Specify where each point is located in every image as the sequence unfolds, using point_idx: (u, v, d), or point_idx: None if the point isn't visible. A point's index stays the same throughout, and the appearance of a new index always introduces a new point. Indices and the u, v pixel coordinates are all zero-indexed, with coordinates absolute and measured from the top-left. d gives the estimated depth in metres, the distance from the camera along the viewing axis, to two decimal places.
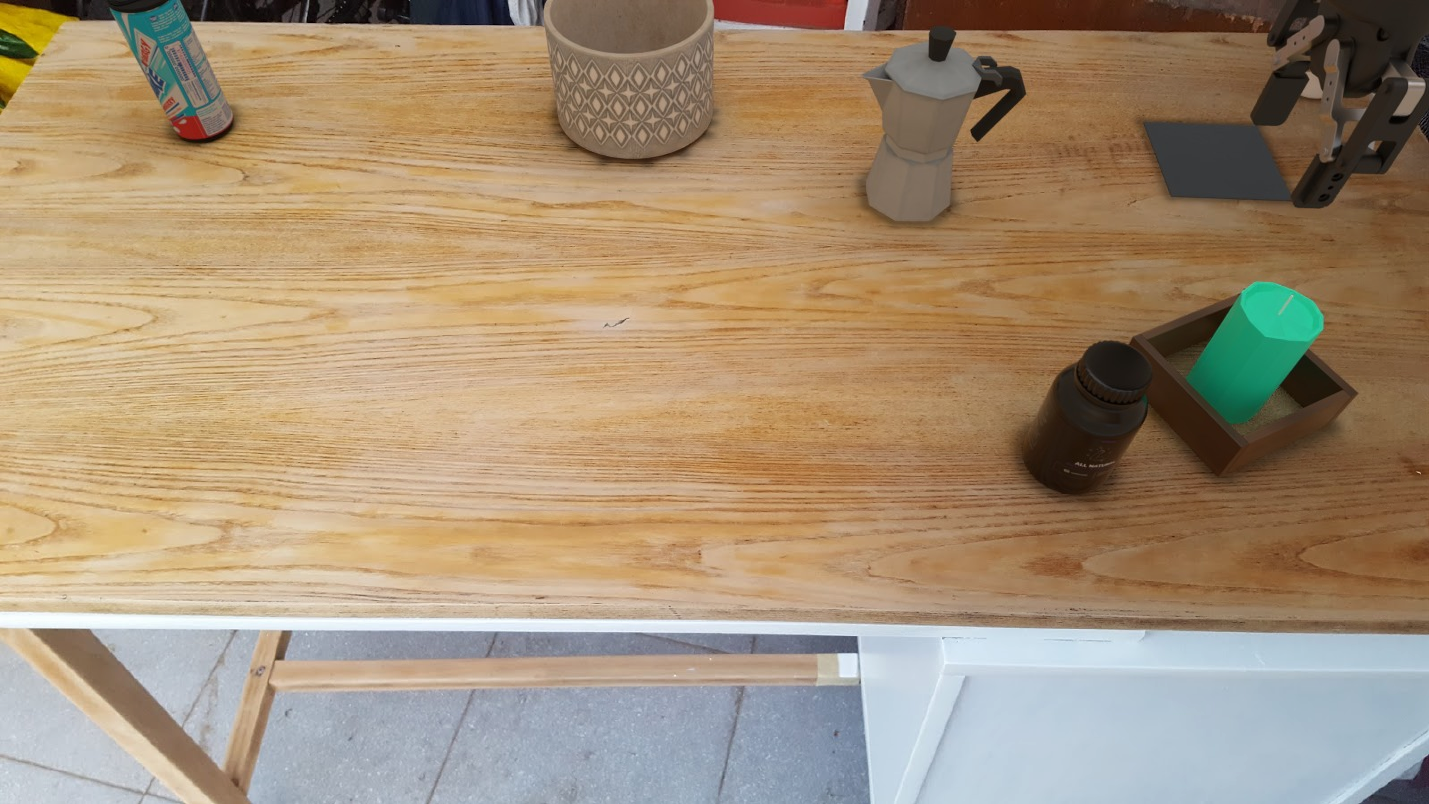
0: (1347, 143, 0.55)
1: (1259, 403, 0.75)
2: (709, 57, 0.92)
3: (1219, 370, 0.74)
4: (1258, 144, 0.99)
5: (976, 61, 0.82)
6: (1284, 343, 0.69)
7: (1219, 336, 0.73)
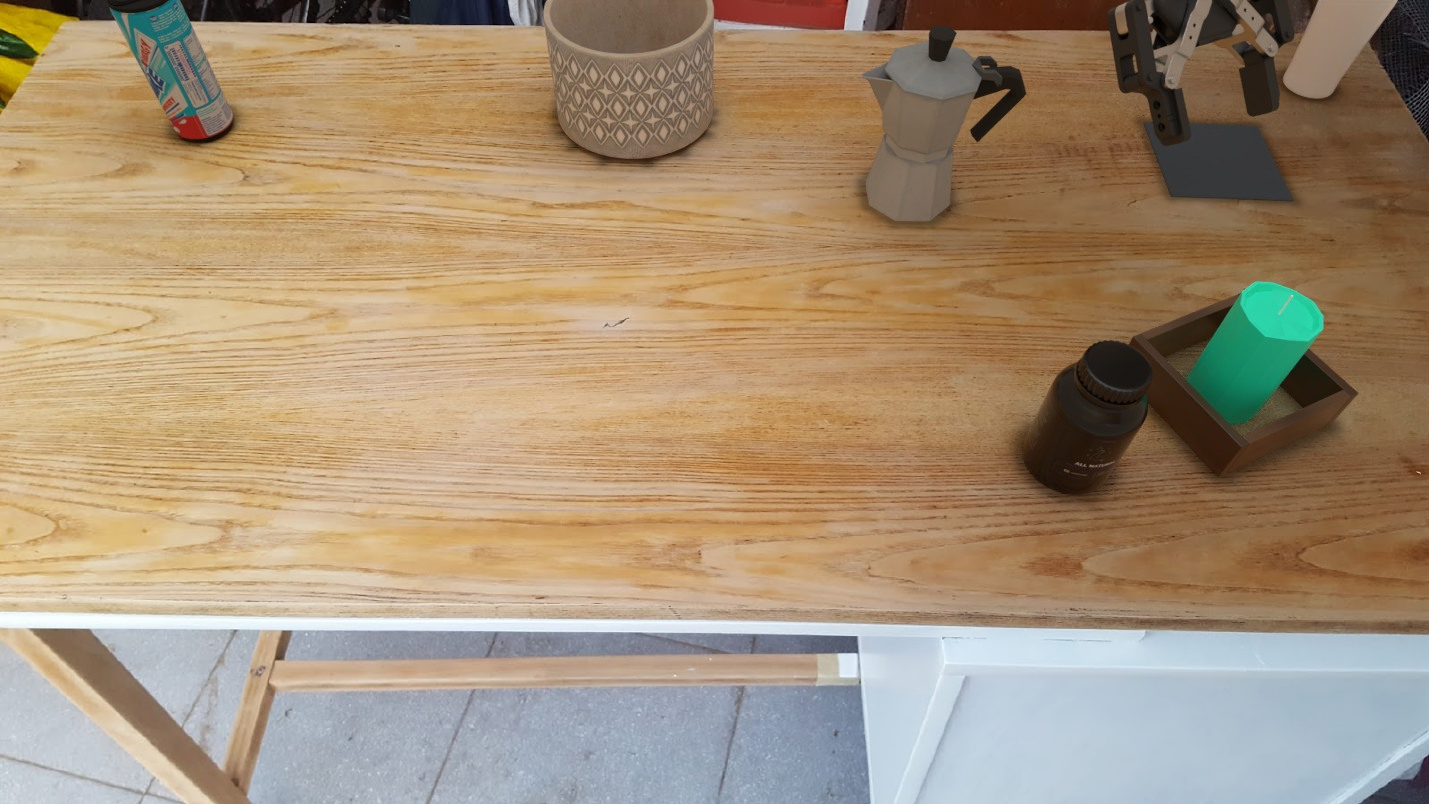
0: None
1: (1259, 403, 0.75)
2: (709, 57, 0.92)
3: (1219, 370, 0.74)
4: (1258, 144, 0.99)
5: (976, 61, 0.82)
6: (1284, 343, 0.69)
7: (1219, 336, 0.73)
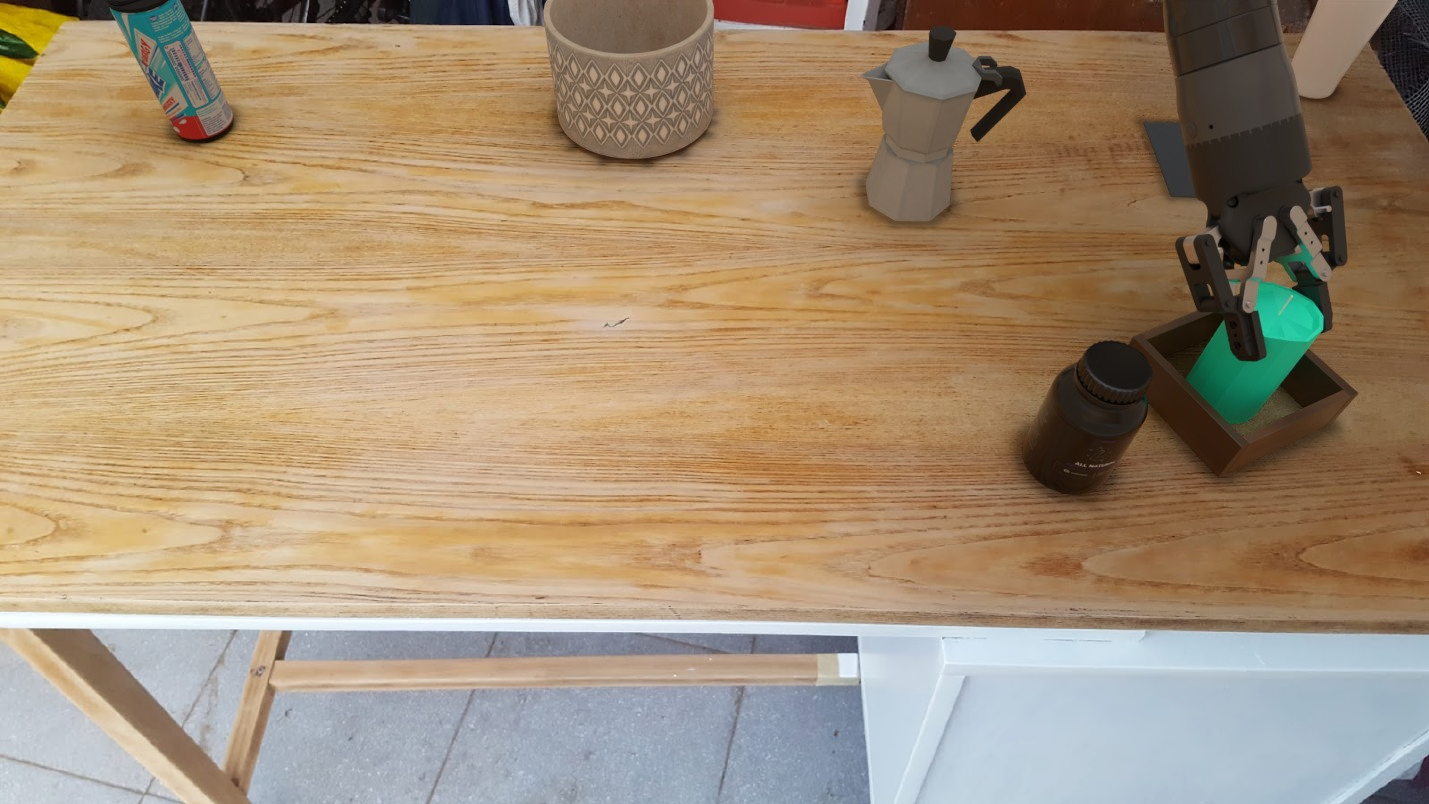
0: None
1: (1259, 403, 0.75)
2: (709, 57, 0.92)
3: (1219, 370, 0.74)
4: None
5: (976, 61, 0.82)
6: (1284, 343, 0.69)
7: (1219, 336, 0.73)
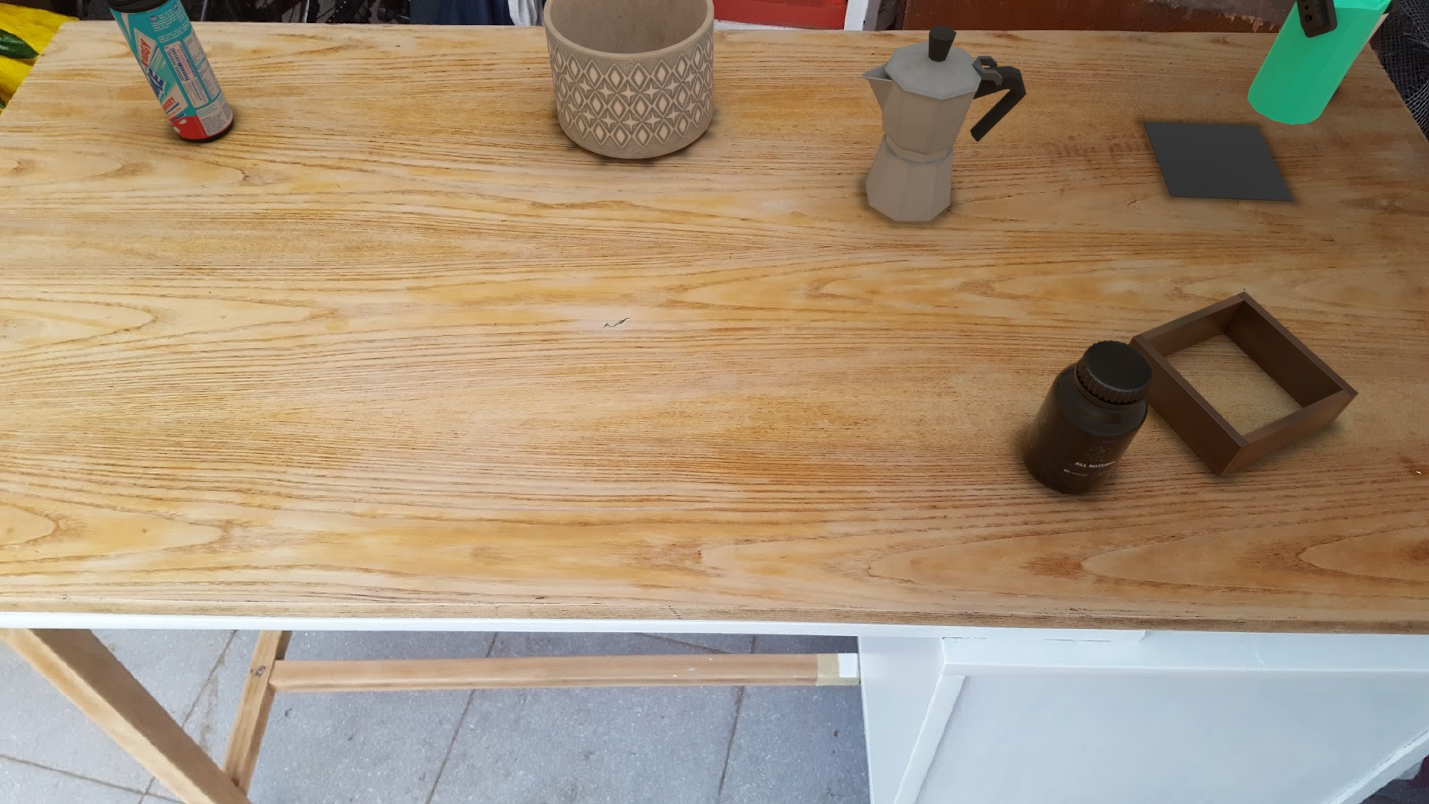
0: None
1: (1324, 95, 0.77)
2: (709, 57, 0.92)
3: (1286, 60, 0.76)
4: (1258, 144, 0.99)
5: (976, 61, 0.82)
6: (1354, 12, 0.71)
7: (1287, 25, 0.76)
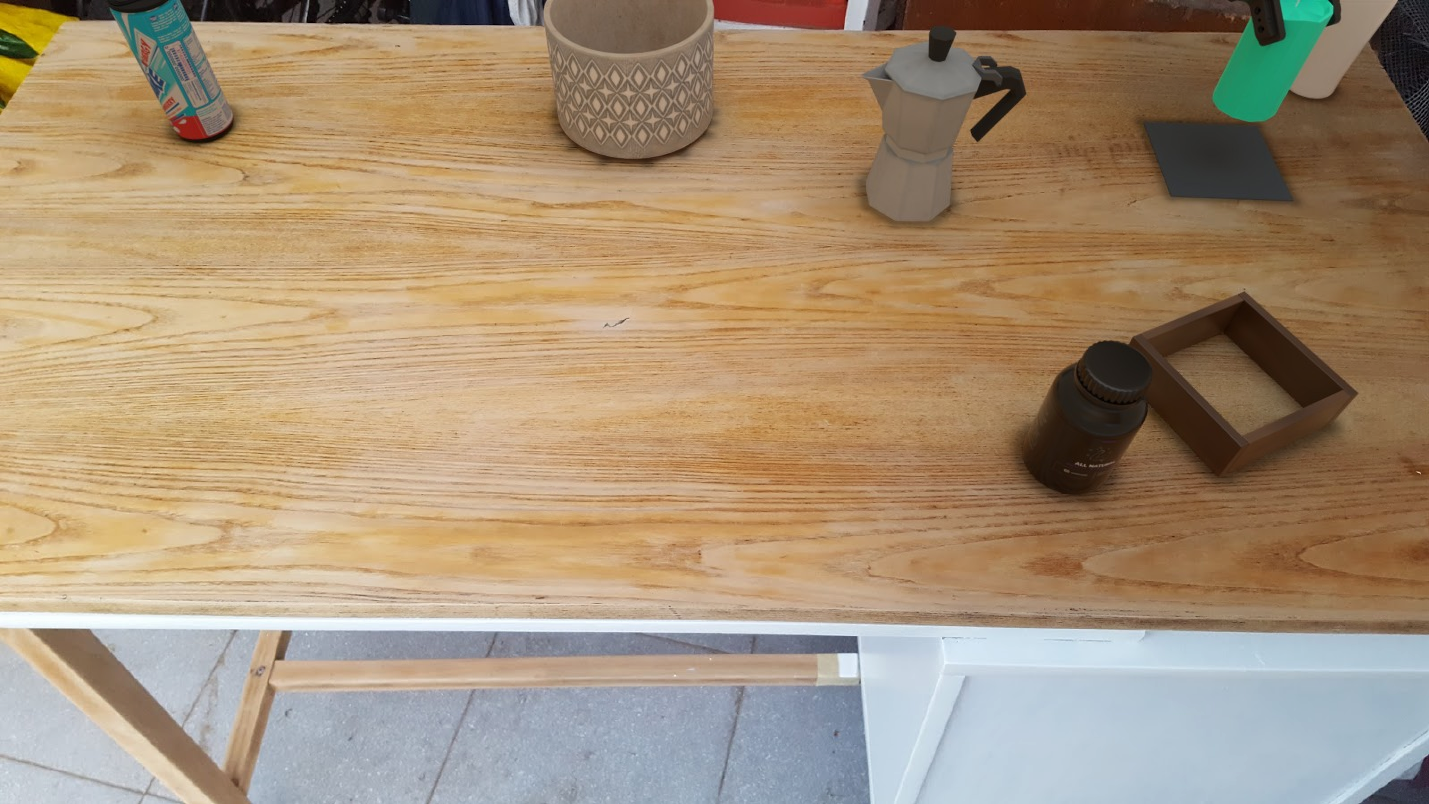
0: None
1: (1277, 96, 0.88)
2: (709, 57, 0.92)
3: (1244, 65, 0.87)
4: (1258, 144, 0.99)
5: (976, 61, 0.82)
6: (1300, 24, 0.82)
7: (1244, 34, 0.87)
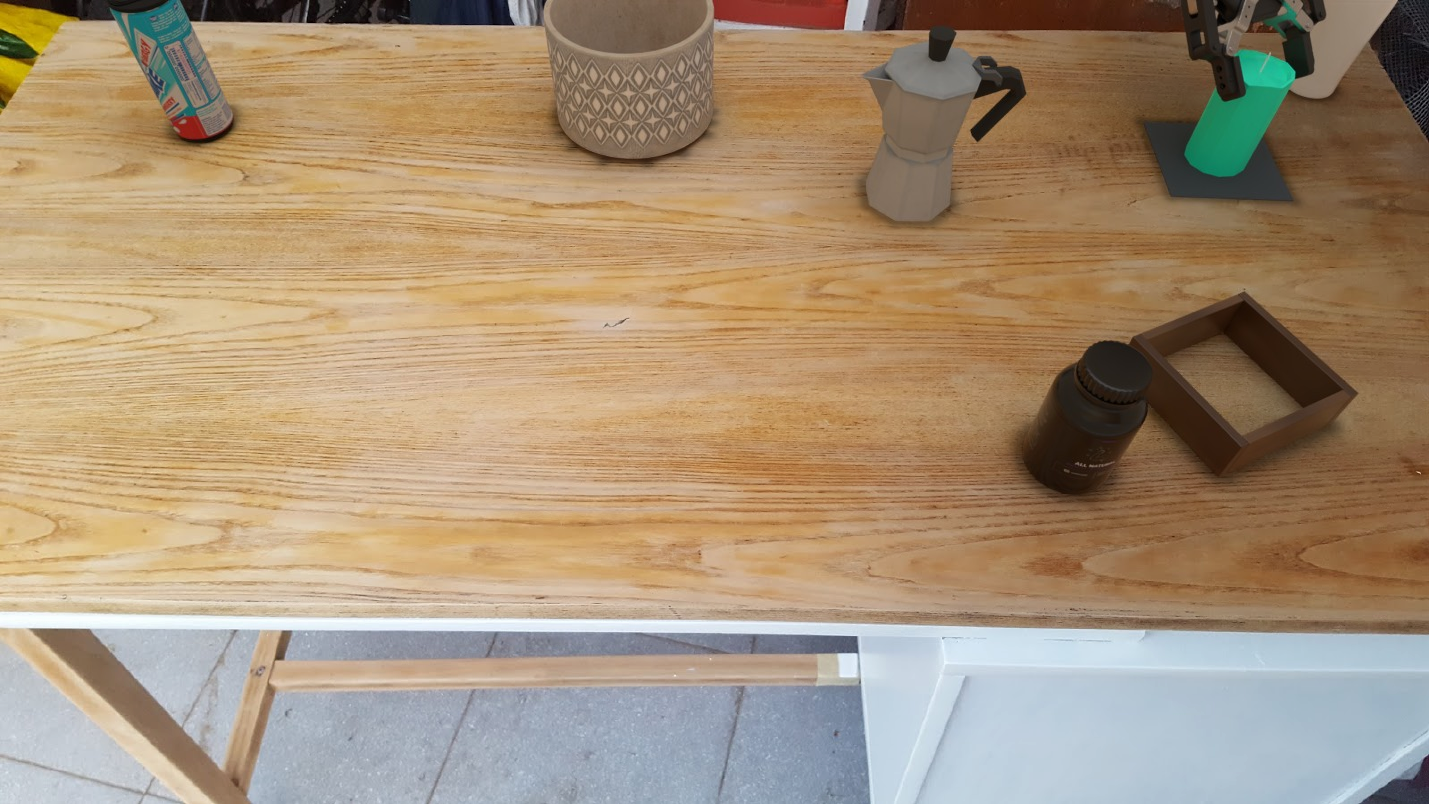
0: None
1: (1245, 154, 0.93)
2: (709, 57, 0.92)
3: (1213, 125, 0.92)
4: (1258, 144, 0.99)
5: (976, 61, 0.82)
6: (1264, 89, 0.87)
7: (1213, 96, 0.92)
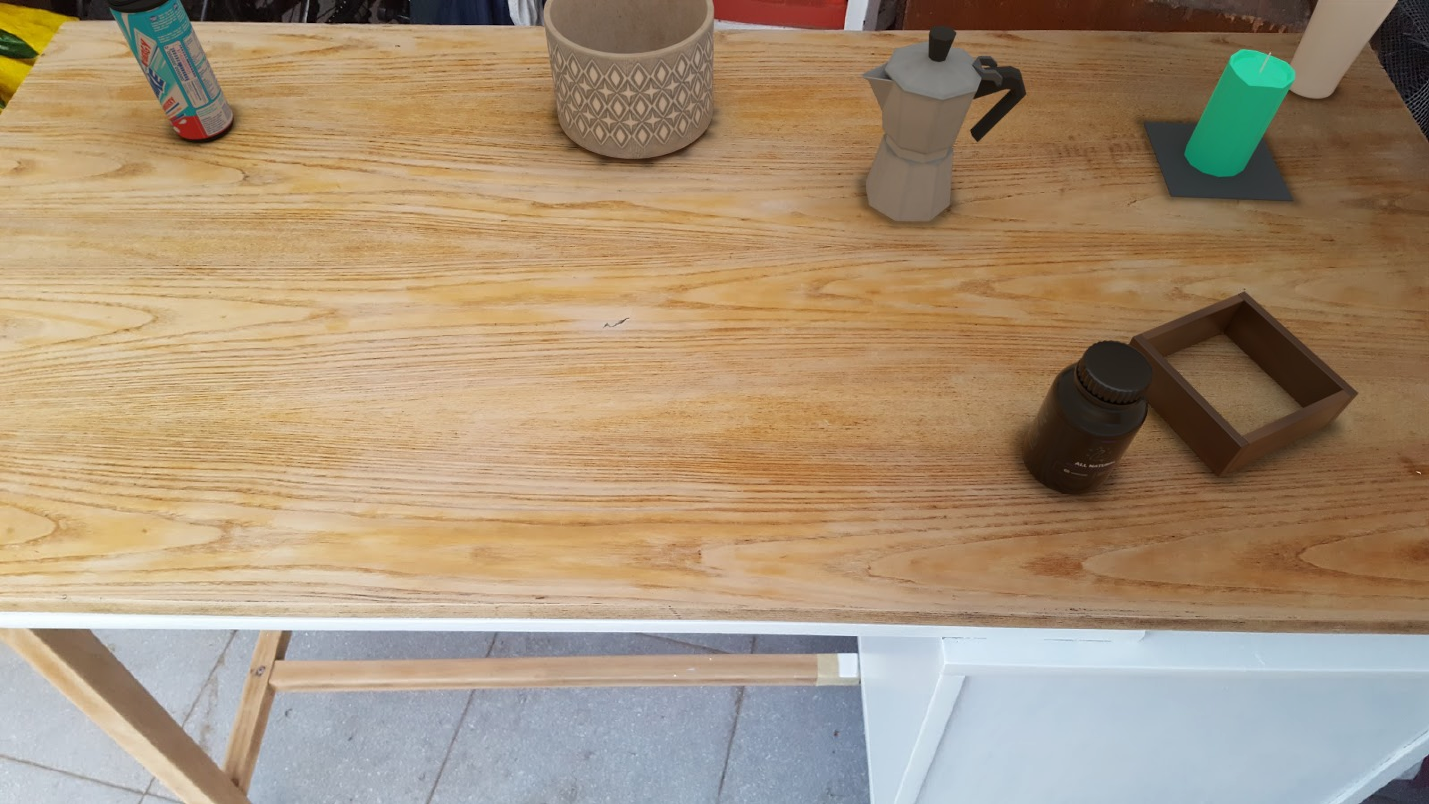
0: None
1: (1245, 154, 0.93)
2: (709, 57, 0.92)
3: (1213, 125, 0.92)
4: (1258, 144, 0.99)
5: (976, 61, 0.82)
6: (1264, 89, 0.87)
7: (1213, 97, 0.92)
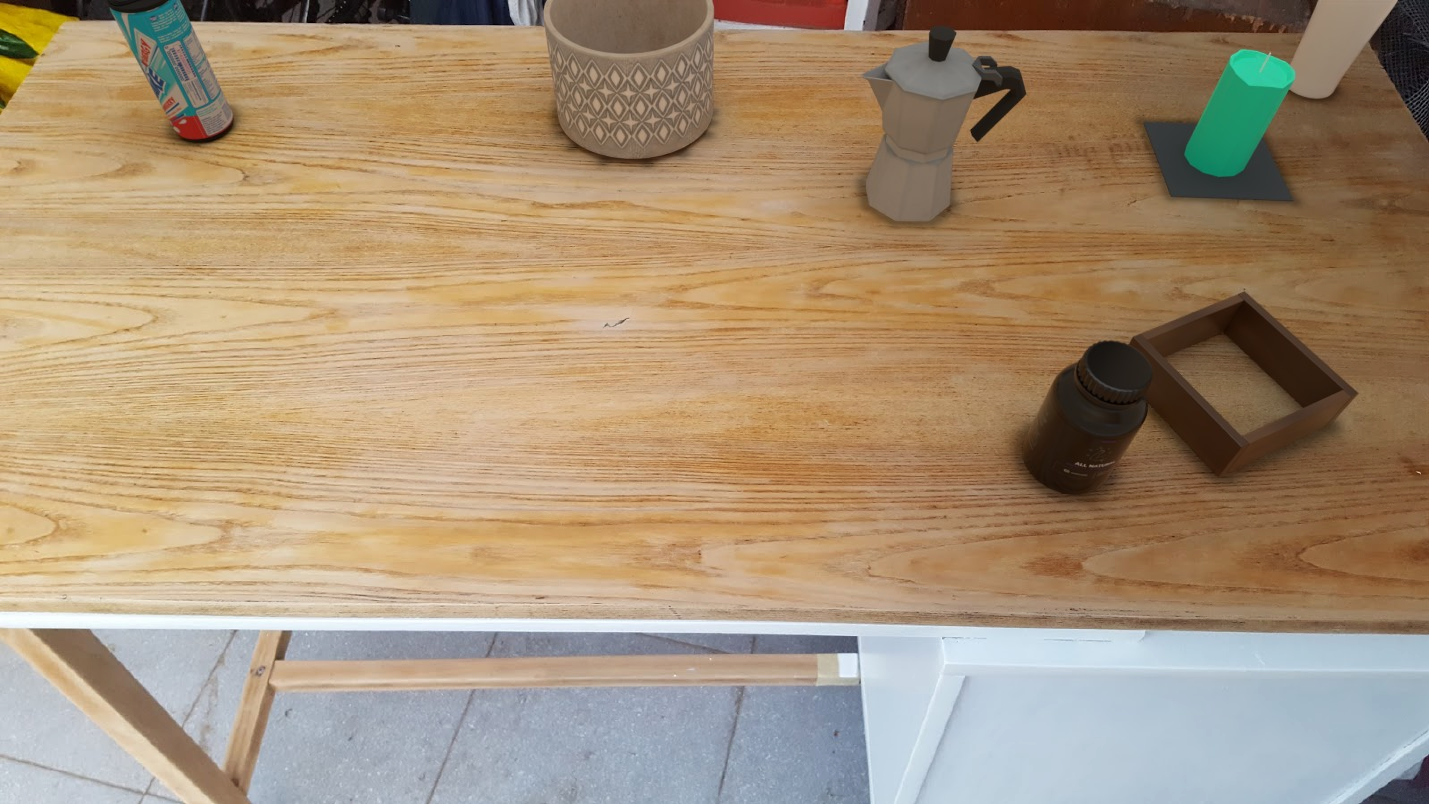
0: None
1: (1245, 154, 0.93)
2: (709, 57, 0.92)
3: (1213, 125, 0.92)
4: (1258, 144, 0.99)
5: (976, 61, 0.82)
6: (1264, 89, 0.87)
7: (1213, 97, 0.92)
